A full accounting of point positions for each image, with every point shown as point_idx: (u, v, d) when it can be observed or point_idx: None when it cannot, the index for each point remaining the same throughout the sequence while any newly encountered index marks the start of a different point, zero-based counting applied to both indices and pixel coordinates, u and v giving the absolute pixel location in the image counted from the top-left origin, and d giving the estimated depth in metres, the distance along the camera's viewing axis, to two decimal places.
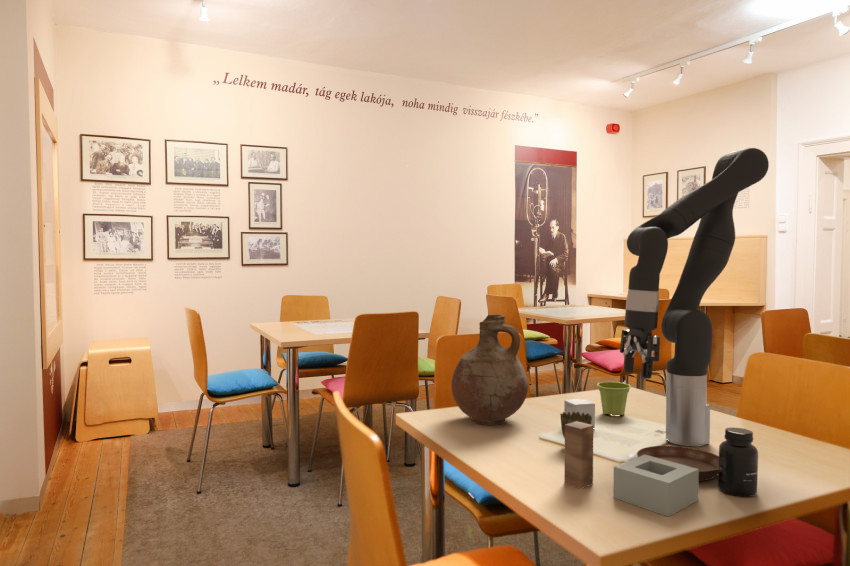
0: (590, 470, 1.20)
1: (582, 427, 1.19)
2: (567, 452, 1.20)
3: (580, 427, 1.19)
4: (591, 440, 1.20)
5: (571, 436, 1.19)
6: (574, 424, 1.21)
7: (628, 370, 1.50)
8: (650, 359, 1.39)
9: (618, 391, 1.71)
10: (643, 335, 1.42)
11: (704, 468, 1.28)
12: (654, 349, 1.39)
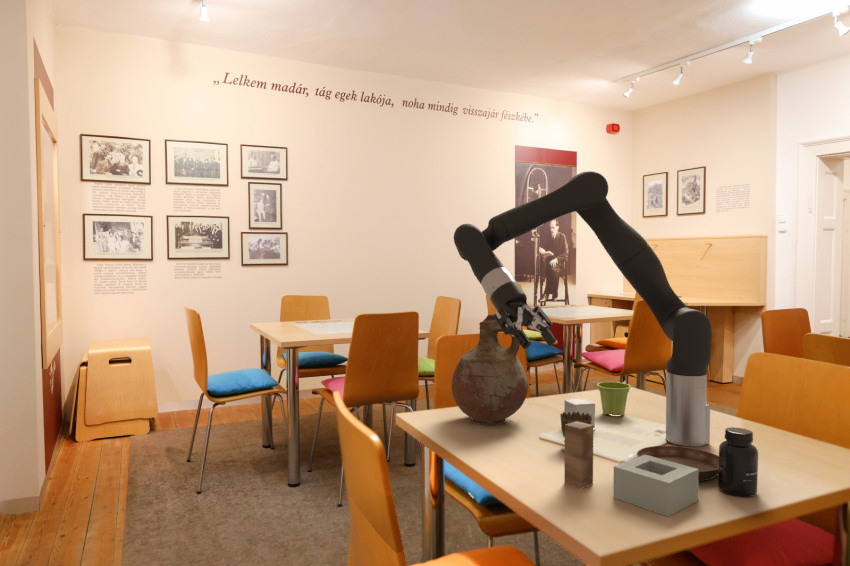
0: (590, 470, 1.20)
1: (582, 427, 1.19)
2: (567, 452, 1.20)
3: (580, 427, 1.19)
4: (591, 440, 1.20)
5: (571, 436, 1.19)
6: (574, 424, 1.21)
7: (550, 342, 1.35)
8: (505, 332, 1.30)
9: (618, 391, 1.71)
10: None
11: (704, 468, 1.28)
12: (502, 322, 1.31)
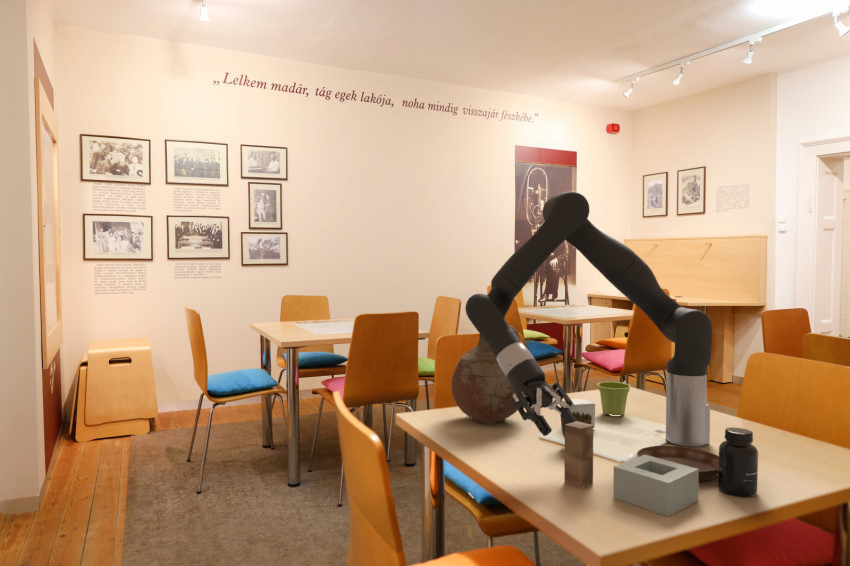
0: (590, 470, 1.20)
1: (582, 427, 1.19)
2: (567, 452, 1.20)
3: (580, 427, 1.19)
4: (591, 440, 1.20)
5: (571, 436, 1.19)
6: (574, 424, 1.21)
7: None
8: (523, 418, 1.22)
9: (618, 391, 1.71)
10: None
11: (704, 468, 1.28)
12: (520, 406, 1.23)
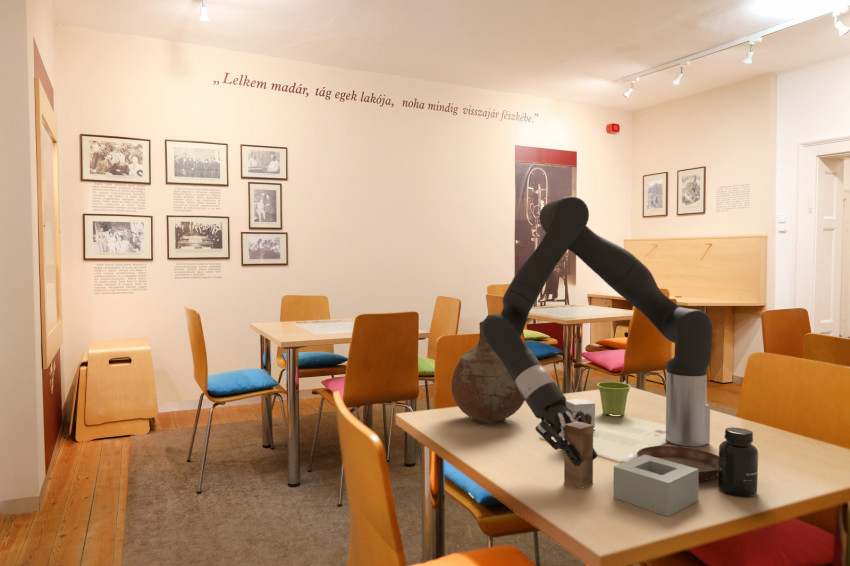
0: (590, 470, 1.20)
1: (582, 427, 1.19)
2: None
3: (580, 427, 1.19)
4: (591, 439, 1.20)
5: (571, 436, 1.19)
6: (574, 424, 1.21)
7: None
8: (554, 447, 1.19)
9: (618, 391, 1.71)
10: None
11: (704, 468, 1.28)
12: (548, 437, 1.19)
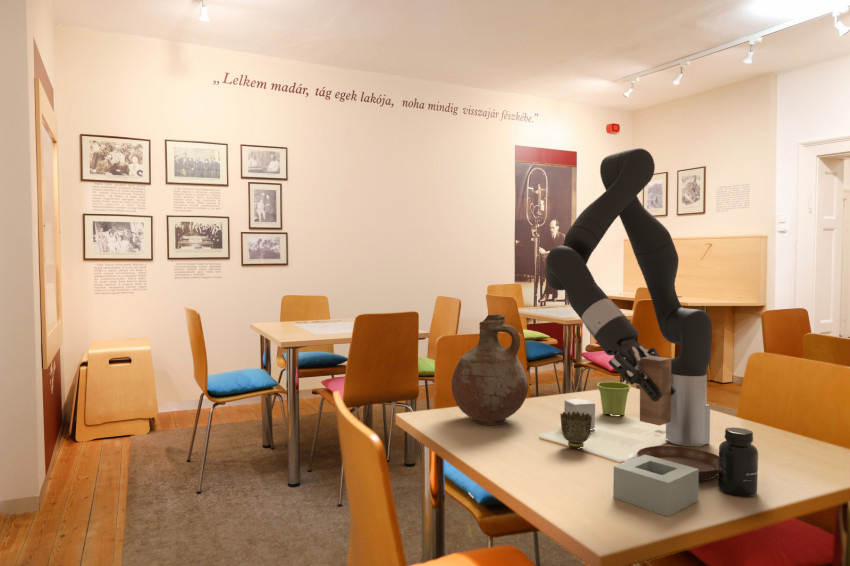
0: (668, 407, 1.11)
1: (660, 359, 1.10)
2: None
3: (658, 359, 1.10)
4: (669, 374, 1.11)
5: (648, 370, 1.11)
6: (650, 358, 1.12)
7: None
8: (630, 382, 1.11)
9: (618, 391, 1.71)
10: None
11: (704, 468, 1.28)
12: (624, 371, 1.11)
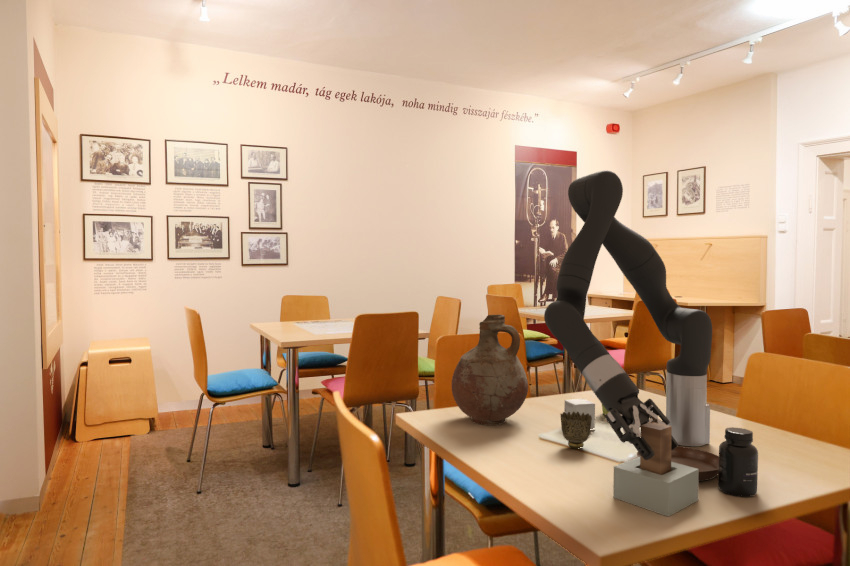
0: None
1: (661, 428, 1.10)
2: None
3: (658, 428, 1.10)
4: (669, 442, 1.12)
5: (648, 438, 1.11)
6: (651, 425, 1.13)
7: None
8: (622, 440, 1.10)
9: None
10: None
11: (704, 468, 1.28)
12: (617, 426, 1.11)
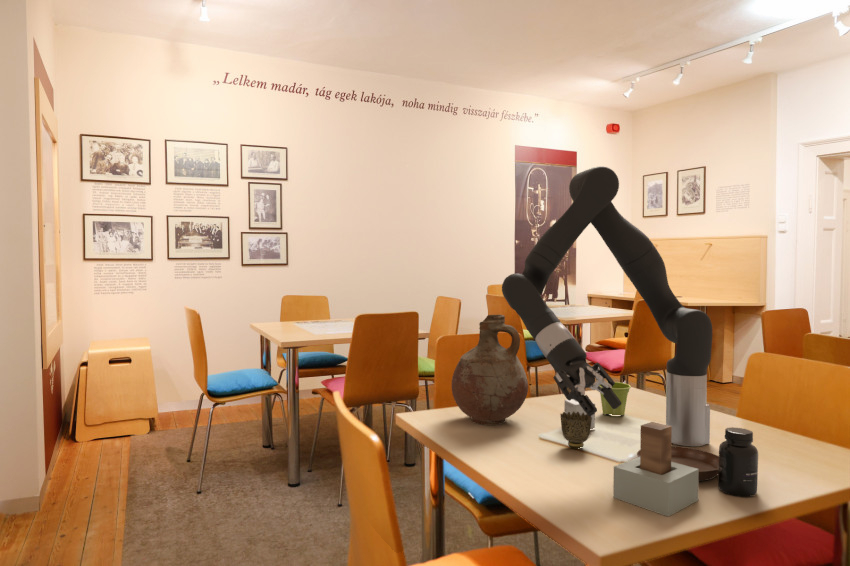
0: None
1: (661, 428, 1.10)
2: (643, 455, 1.12)
3: (658, 428, 1.10)
4: (669, 442, 1.12)
5: (648, 438, 1.11)
6: (651, 425, 1.13)
7: (614, 405, 1.24)
8: (567, 398, 1.20)
9: (618, 391, 1.71)
10: None
11: (704, 468, 1.28)
12: (563, 386, 1.20)
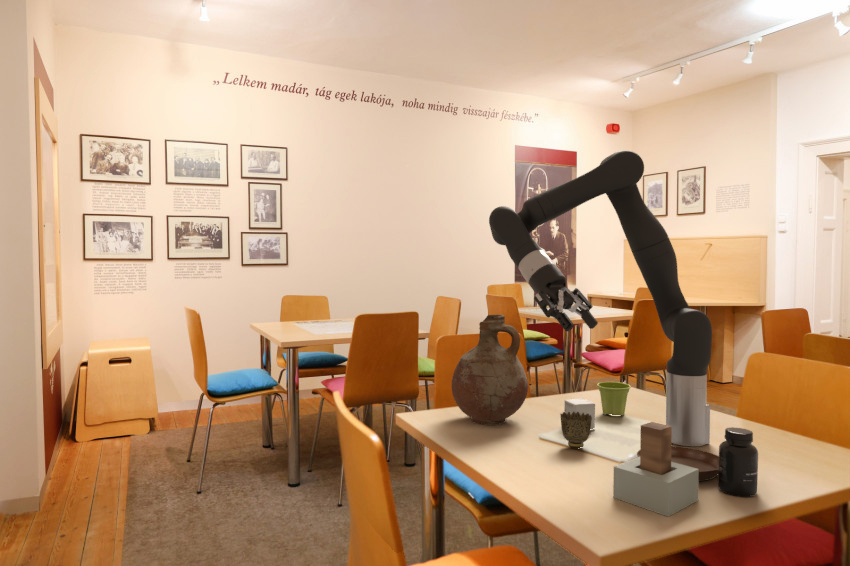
0: None
1: (661, 428, 1.10)
2: (643, 455, 1.12)
3: (658, 428, 1.10)
4: (669, 442, 1.12)
5: (648, 438, 1.11)
6: (651, 425, 1.13)
7: (591, 325, 1.32)
8: (547, 315, 1.28)
9: (618, 391, 1.71)
10: None
11: (704, 468, 1.28)
12: (543, 304, 1.29)
